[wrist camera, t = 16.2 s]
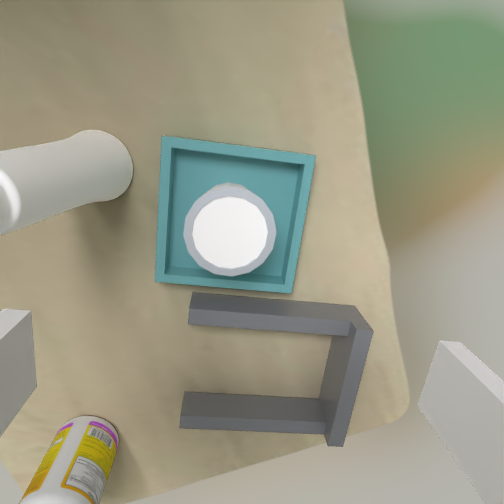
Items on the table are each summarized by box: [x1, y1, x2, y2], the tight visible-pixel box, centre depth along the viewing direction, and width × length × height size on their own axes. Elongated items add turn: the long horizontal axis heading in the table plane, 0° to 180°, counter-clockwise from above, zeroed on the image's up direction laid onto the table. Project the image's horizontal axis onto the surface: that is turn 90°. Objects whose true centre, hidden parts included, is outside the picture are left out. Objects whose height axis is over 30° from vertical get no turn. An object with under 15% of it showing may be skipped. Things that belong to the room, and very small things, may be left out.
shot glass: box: [183, 182, 276, 276], centre depth 30 cm, size 7×7×7 cm
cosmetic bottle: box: [0, 130, 133, 235], centre depth 21 cm, size 6×6×22 cm
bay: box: [180, 292, 373, 447], centre depth 36 cm, size 17×14×5 cm
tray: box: [155, 135, 316, 293], centre depth 32 cm, size 13×13×2 cm
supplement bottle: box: [19, 416, 119, 504], centre depth 34 cm, size 7×7×13 cm
